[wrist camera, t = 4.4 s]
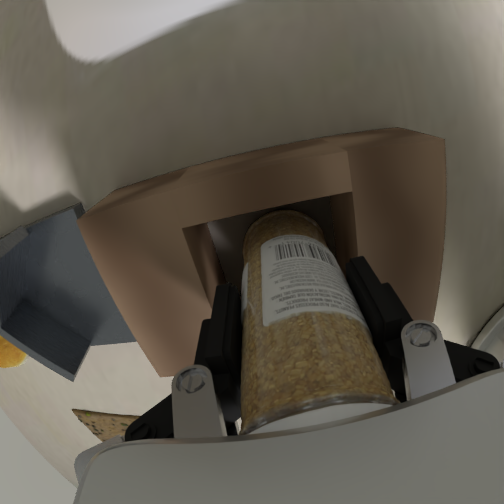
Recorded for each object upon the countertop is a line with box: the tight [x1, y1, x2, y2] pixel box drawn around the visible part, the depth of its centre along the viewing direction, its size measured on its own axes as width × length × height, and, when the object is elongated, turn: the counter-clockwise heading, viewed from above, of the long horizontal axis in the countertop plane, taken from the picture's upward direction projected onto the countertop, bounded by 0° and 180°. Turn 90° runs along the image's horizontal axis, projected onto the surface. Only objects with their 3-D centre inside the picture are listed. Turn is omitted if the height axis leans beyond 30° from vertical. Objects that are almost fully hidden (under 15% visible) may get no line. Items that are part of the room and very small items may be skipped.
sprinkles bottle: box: [239, 210, 400, 435], centre depth 10 cm, size 5×5×13 cm
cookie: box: [72, 409, 140, 442], centre depth 29 cm, size 12×12×1 cm
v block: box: [0, 203, 137, 382], centre depth 16 cm, size 10×11×4 cm
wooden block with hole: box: [76, 127, 446, 377], centre depth 15 cm, size 16×10×4 cm, turn 103°
